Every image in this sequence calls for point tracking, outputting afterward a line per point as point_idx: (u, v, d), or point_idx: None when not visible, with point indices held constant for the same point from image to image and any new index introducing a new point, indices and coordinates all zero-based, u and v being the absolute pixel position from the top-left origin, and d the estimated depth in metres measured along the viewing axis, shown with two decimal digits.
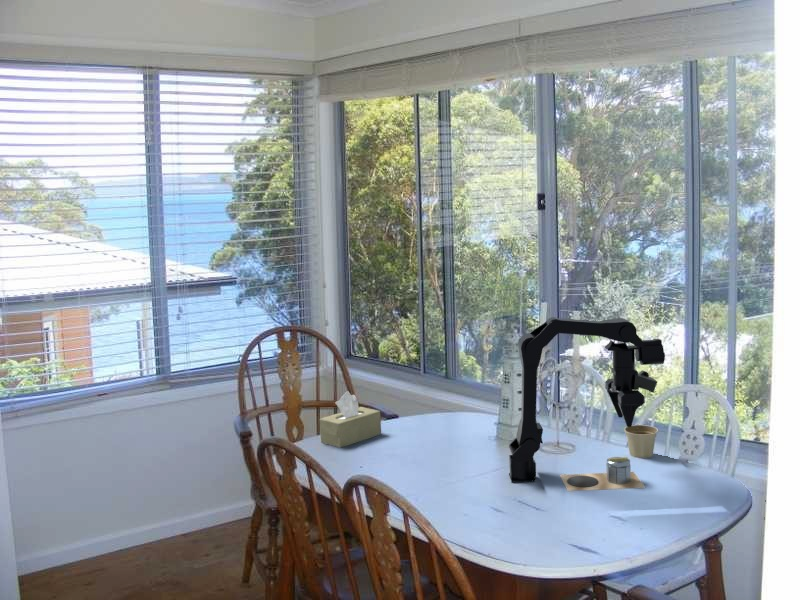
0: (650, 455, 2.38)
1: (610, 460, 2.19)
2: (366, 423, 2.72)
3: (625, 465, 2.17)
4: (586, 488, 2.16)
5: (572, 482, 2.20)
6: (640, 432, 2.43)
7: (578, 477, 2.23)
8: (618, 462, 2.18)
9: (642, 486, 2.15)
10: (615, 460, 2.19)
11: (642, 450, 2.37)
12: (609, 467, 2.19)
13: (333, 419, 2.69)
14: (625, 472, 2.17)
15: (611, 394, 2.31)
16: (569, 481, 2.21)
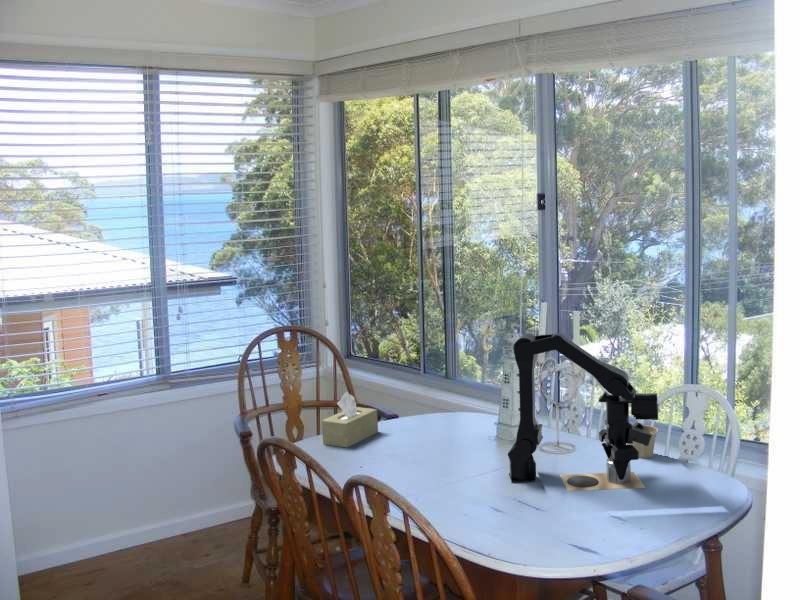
0: (650, 455, 2.38)
1: (610, 460, 2.19)
2: (366, 422, 2.74)
3: None
4: (586, 488, 2.16)
5: (572, 482, 2.20)
6: None
7: (578, 477, 2.23)
8: None
9: (642, 486, 2.15)
10: None
11: (642, 450, 2.37)
12: (609, 467, 2.19)
13: (336, 419, 2.68)
14: None
15: (606, 448, 2.23)
16: (569, 481, 2.21)
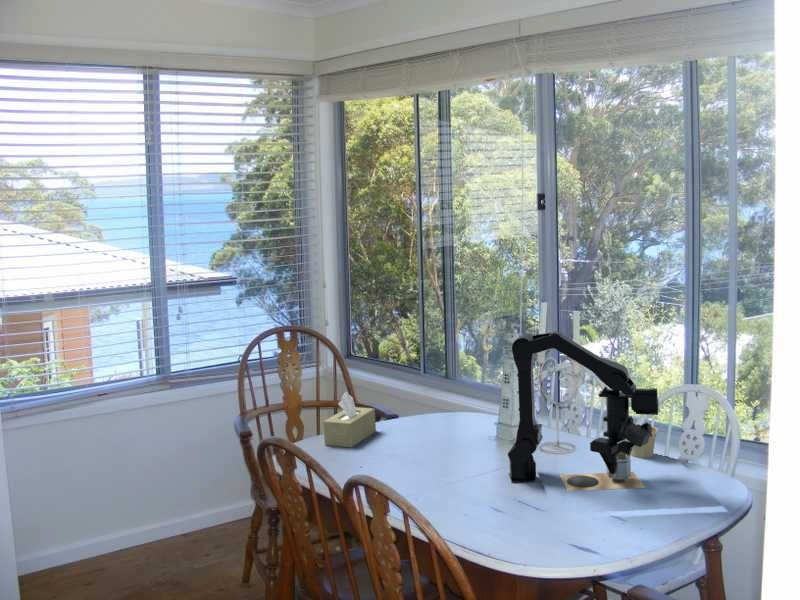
0: (650, 455, 2.38)
1: None
2: (366, 421, 2.74)
3: (616, 460, 2.17)
4: (586, 488, 2.16)
5: (572, 482, 2.20)
6: None
7: (578, 477, 2.23)
8: None
9: (642, 486, 2.15)
10: None
11: (642, 450, 2.37)
12: None
13: (338, 419, 2.68)
14: (617, 467, 2.17)
15: (617, 442, 2.23)
16: (569, 481, 2.21)
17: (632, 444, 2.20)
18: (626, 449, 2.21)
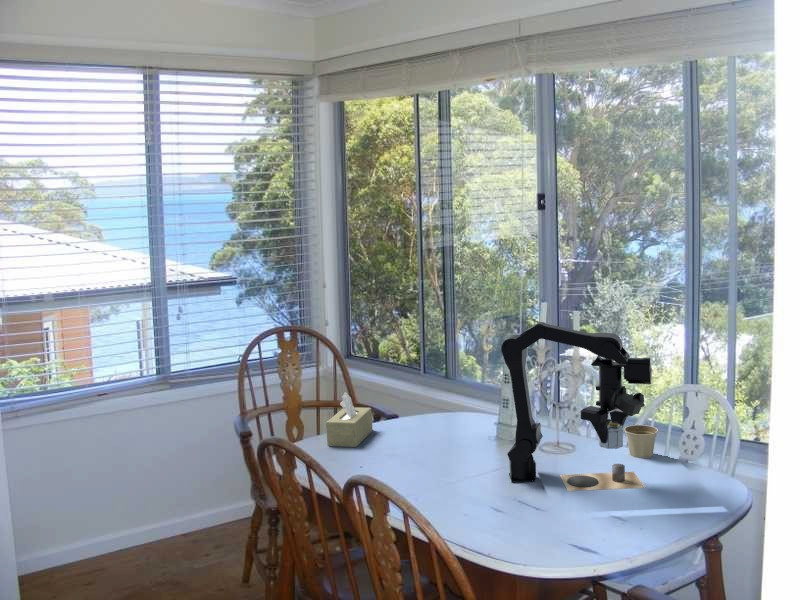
0: (650, 455, 2.38)
1: None
2: (366, 420, 2.75)
3: (607, 429, 2.16)
4: (586, 488, 2.16)
5: (572, 482, 2.20)
6: (640, 432, 2.43)
7: (578, 477, 2.23)
8: None
9: (642, 486, 2.15)
10: None
11: (642, 450, 2.37)
12: None
13: (341, 420, 2.68)
14: (608, 437, 2.16)
15: (611, 412, 2.22)
16: (569, 481, 2.21)
17: (625, 414, 2.19)
18: (619, 419, 2.20)
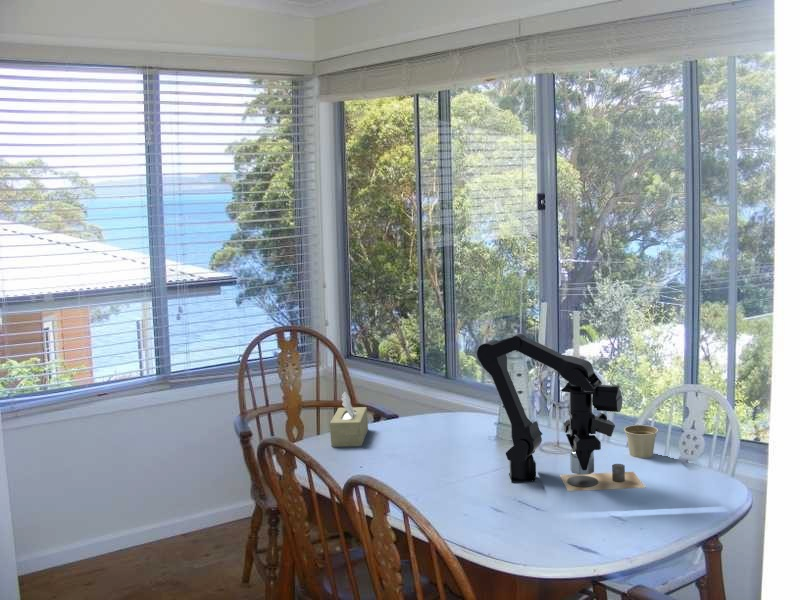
0: (650, 455, 2.38)
1: (573, 450, 2.19)
2: (365, 420, 2.76)
3: None
4: (586, 488, 2.16)
5: (572, 482, 2.20)
6: (640, 432, 2.43)
7: (578, 477, 2.23)
8: None
9: (642, 486, 2.15)
10: None
11: (642, 450, 2.37)
12: (572, 457, 2.18)
13: (344, 420, 2.67)
14: None
15: (570, 438, 2.23)
16: (569, 481, 2.21)
17: None
18: None
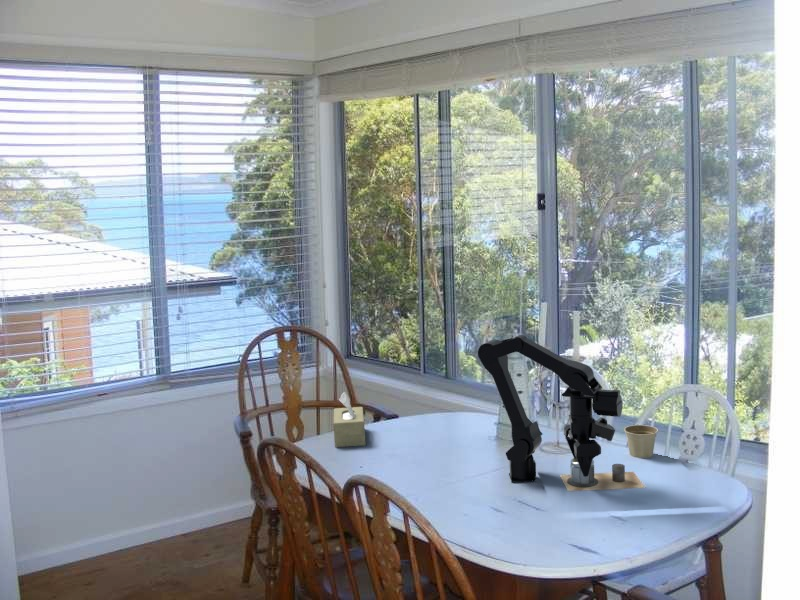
0: (650, 455, 2.38)
1: (574, 461, 2.20)
2: None
3: None
4: (586, 488, 2.16)
5: None
6: (640, 432, 2.43)
7: None
8: None
9: (642, 486, 2.15)
10: None
11: (642, 450, 2.37)
12: (573, 468, 2.19)
13: (346, 420, 2.67)
14: None
15: (569, 441, 2.24)
16: (569, 481, 2.21)
17: None
18: None
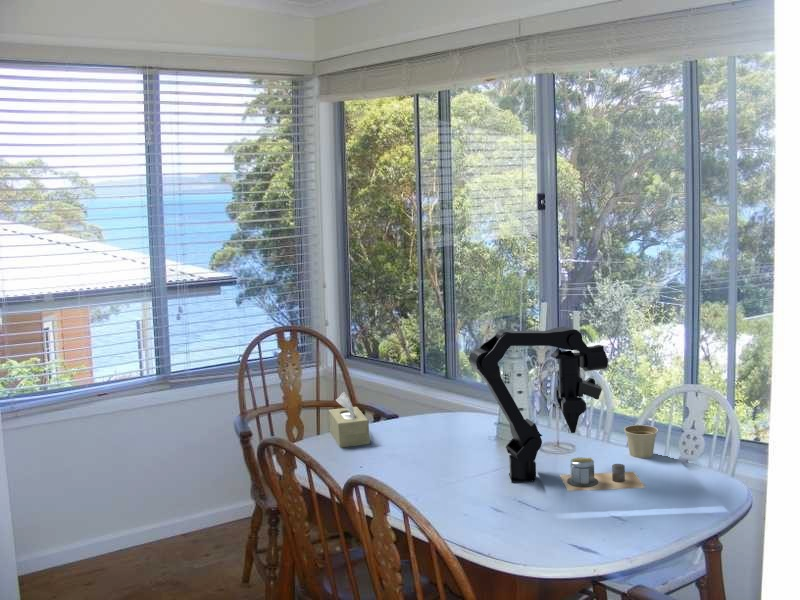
0: (650, 455, 2.38)
1: (574, 461, 2.20)
2: None
3: (588, 465, 2.17)
4: (586, 488, 2.16)
5: None
6: (640, 432, 2.43)
7: None
8: (582, 463, 2.19)
9: (642, 486, 2.15)
10: (579, 461, 2.19)
11: (642, 450, 2.37)
12: (573, 468, 2.19)
13: (350, 419, 2.67)
14: (588, 473, 2.17)
15: (559, 400, 2.35)
16: (569, 481, 2.21)
17: None
18: None
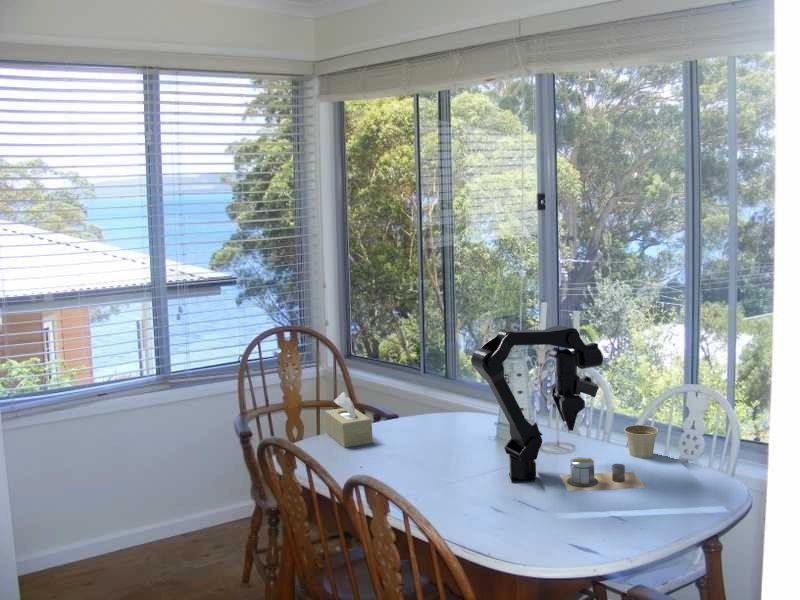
0: (650, 455, 2.38)
1: (574, 461, 2.20)
2: None
3: (588, 465, 2.17)
4: (586, 488, 2.16)
5: None
6: (640, 432, 2.43)
7: None
8: (582, 463, 2.19)
9: (642, 486, 2.15)
10: (579, 461, 2.19)
11: (642, 450, 2.37)
12: (573, 468, 2.19)
13: (352, 419, 2.68)
14: (588, 473, 2.17)
15: (555, 399, 2.37)
16: (569, 481, 2.21)
17: None
18: None
